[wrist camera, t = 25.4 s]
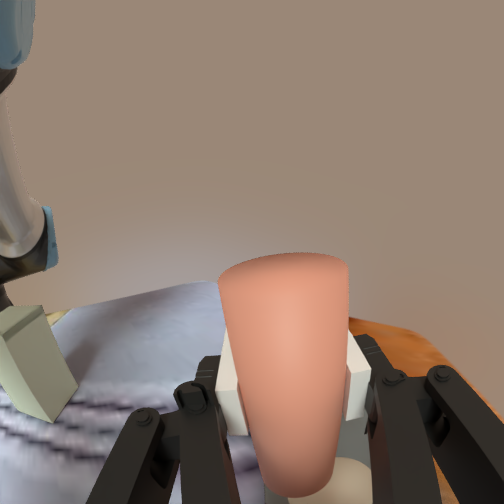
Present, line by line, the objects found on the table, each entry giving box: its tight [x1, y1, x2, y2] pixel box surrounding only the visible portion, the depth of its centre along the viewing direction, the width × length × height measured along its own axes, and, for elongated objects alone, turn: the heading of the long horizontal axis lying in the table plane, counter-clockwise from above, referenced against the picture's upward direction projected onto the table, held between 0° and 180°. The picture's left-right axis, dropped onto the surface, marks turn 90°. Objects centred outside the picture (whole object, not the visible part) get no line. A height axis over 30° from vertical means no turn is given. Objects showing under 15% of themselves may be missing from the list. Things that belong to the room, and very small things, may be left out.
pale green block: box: [0, 305, 79, 423], centre depth 20 cm, size 7×7×11 cm
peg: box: [218, 253, 349, 498], centre depth 10 cm, size 4×4×12 cm
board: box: [264, 410, 373, 504], centre depth 17 cm, size 24×9×4 cm, turn 0°
